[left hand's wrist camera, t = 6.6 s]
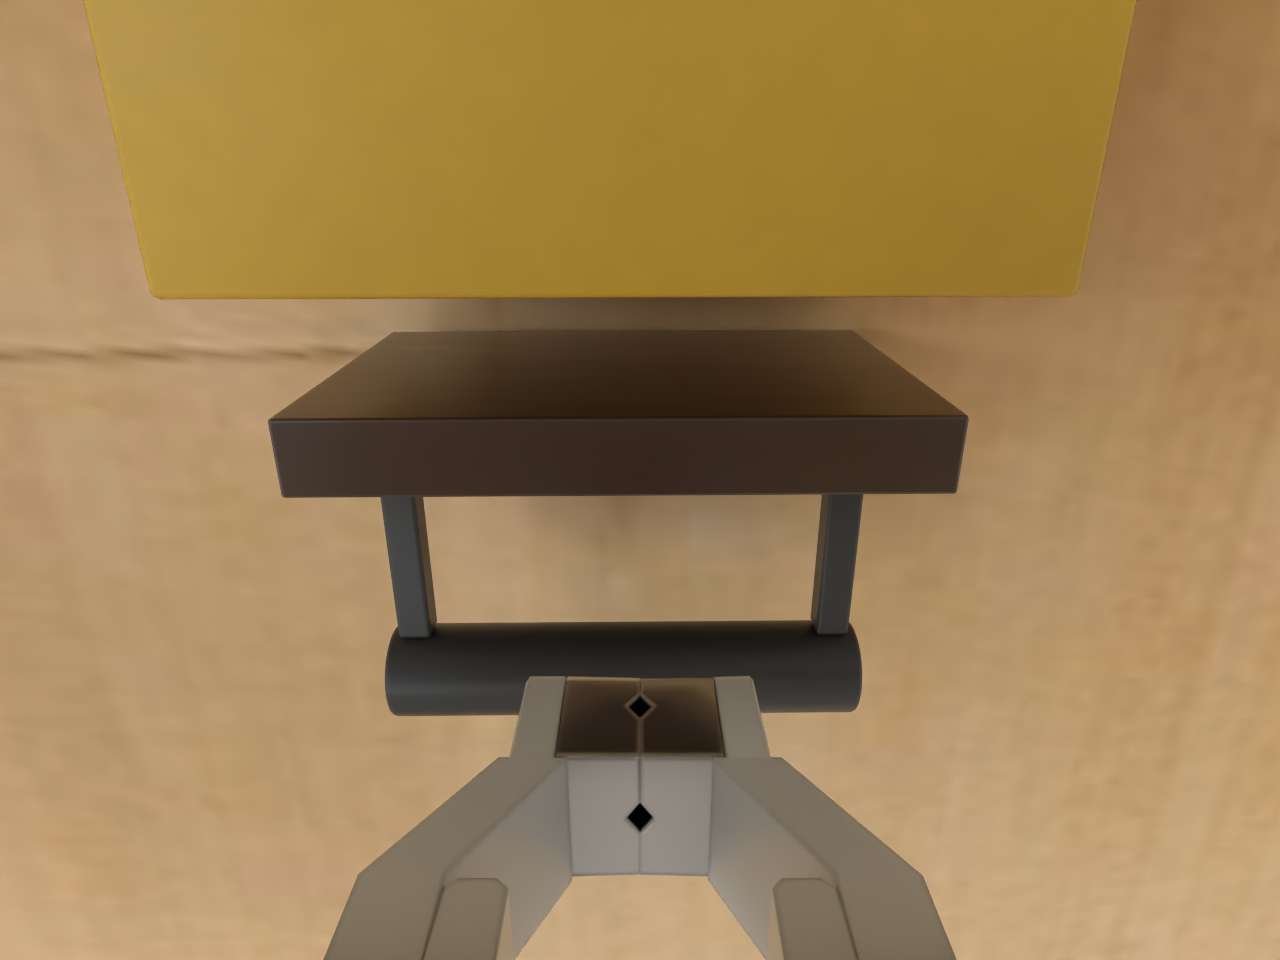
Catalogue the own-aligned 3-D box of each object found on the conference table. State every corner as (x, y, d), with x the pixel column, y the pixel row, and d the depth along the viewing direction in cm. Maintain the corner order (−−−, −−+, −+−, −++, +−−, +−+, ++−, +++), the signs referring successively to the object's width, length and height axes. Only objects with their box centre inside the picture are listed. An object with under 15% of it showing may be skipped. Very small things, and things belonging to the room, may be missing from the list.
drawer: (826, 602, 19) (910, 788, 13) (424, 605, 19) (336, 794, 13) (946, -604, 12) (1260, -1369, 6) (279, -611, 11) (-74, -1393, 6)
